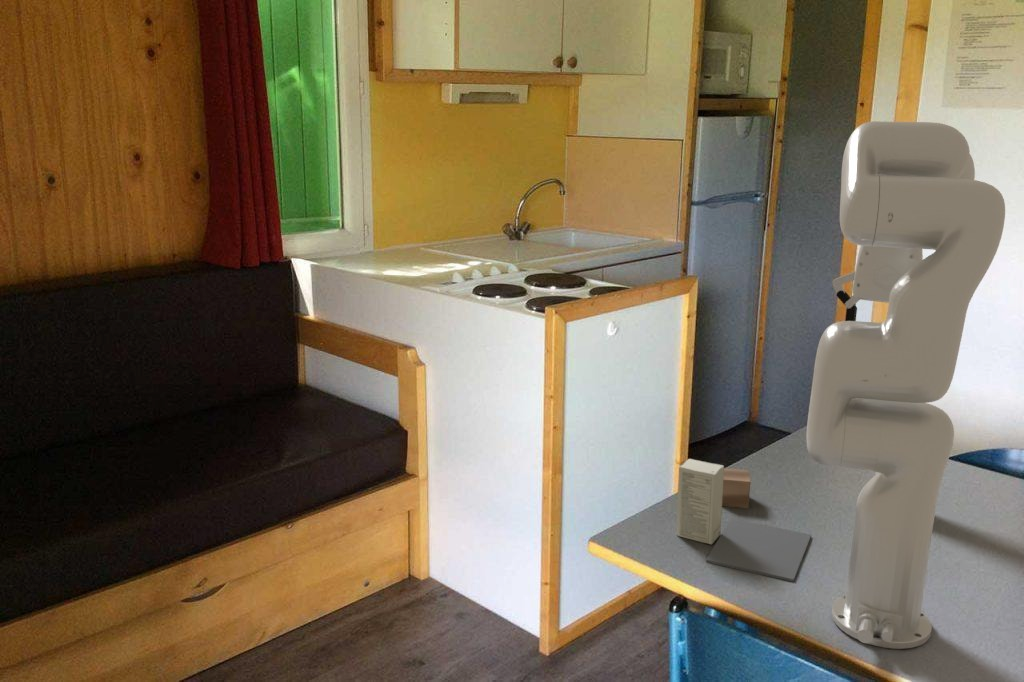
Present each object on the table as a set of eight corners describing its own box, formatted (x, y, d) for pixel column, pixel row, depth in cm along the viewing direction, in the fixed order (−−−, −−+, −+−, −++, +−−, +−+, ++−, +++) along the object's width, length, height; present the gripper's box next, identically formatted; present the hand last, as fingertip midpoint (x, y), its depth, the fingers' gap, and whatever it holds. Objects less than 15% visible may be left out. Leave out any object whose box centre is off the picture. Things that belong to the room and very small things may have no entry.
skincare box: (721, 535, 150) (726, 465, 147) (711, 546, 146) (716, 474, 143) (684, 525, 153) (689, 457, 150) (674, 535, 150) (678, 466, 147)
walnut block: (748, 508, 160) (750, 481, 159) (718, 505, 161) (720, 479, 160) (747, 496, 165) (749, 470, 164) (718, 494, 166) (720, 468, 164)
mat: (793, 581, 136) (793, 579, 136) (706, 561, 141) (706, 559, 141) (810, 536, 150) (811, 534, 150) (730, 520, 155) (731, 518, 155)
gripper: (834, 230, 151) (823, 332, 155) (950, 239, 143) (936, 345, 148) (841, 225, 157) (831, 323, 162) (953, 233, 150) (939, 336, 154)
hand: (881, 334), depth 155 cm, fingers open, 9 cm apart
